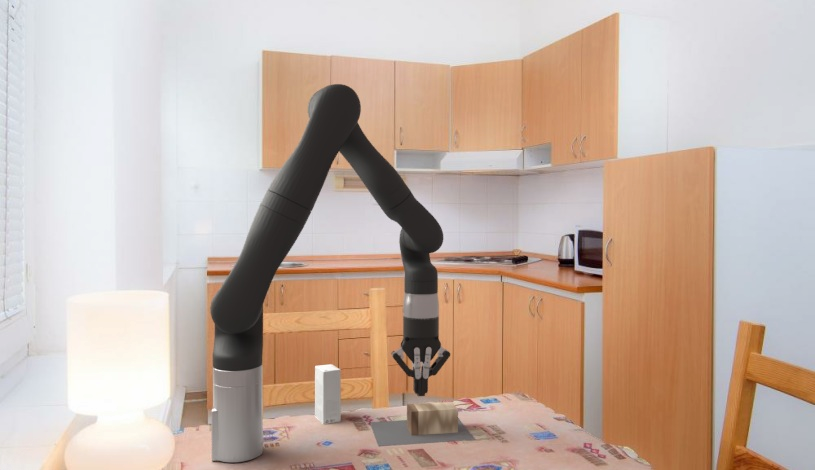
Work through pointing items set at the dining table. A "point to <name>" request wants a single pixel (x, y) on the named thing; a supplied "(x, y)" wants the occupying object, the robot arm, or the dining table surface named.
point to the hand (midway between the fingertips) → (420, 395)
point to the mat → (400, 435)
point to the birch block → (432, 418)
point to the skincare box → (327, 394)
